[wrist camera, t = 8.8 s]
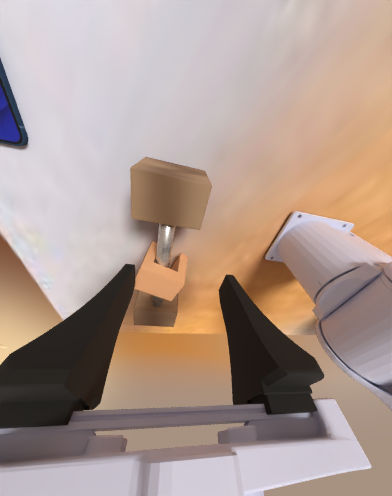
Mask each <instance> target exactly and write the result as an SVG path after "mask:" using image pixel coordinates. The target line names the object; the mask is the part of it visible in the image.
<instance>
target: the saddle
mask: <svg viewBox="0 0 392 496" xmlns="http://www.w3.org/2000/svg"><path fill="white" fill-rule="evenodd" d="M156 253H157V243H156V242H154V241H152V243H151V246H150V248H149V250H148V252H147V254H146V256H145V258H144V260H143V262H142V264H141V267H140V269H139V271H138V273H137V276H136V278H135V287H134V289H137V290H140V291H143V292H146V293H148V294H151V295H154V296H157V297H160V298H163V299H166V300H169V301H172V300H173V299H174V297H175V296H176V295H177V294H178V292H179V291H180V290H181V289H182V287H183V286H184V283H185V274H186V265H187V256H185V255H183V254H180V256H179V257H178V259H177V260H176V262H175V263H174V265H173V266H172V268H171V269H169V268H167V267H164V266H162V265H159V264H157V263H154V259H155V257H156Z"/></svg>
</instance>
